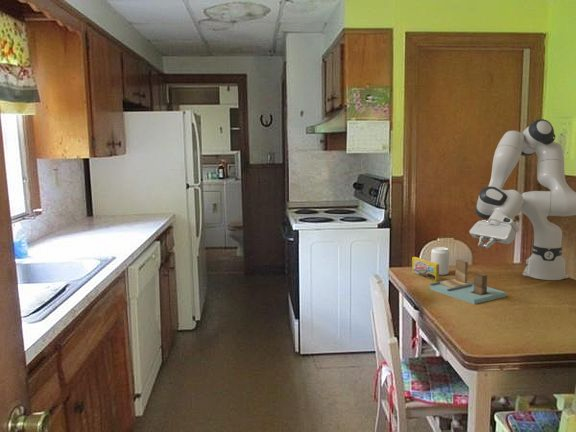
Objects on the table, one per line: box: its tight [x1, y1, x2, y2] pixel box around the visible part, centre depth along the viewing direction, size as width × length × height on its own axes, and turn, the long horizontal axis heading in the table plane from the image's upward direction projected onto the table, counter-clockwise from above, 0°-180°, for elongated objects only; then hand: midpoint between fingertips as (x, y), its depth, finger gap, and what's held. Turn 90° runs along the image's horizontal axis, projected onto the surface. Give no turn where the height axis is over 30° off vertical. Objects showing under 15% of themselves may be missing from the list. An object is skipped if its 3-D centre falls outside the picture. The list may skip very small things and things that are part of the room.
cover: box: [439, 259, 470, 288], centre depth 212 cm, size 9×8×10 cm
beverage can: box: [430, 246, 450, 276], centre depth 239 cm, size 8×8×12 cm
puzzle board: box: [429, 278, 507, 305], centre depth 207 cm, size 18×23×3 cm
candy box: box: [411, 256, 440, 283], centre depth 233 cm, size 16×2×8 cm, turn 27°
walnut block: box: [473, 272, 488, 295], centre depth 201 cm, size 4×4×9 cm
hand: (482, 246), depth 218 cm, fingers closed
